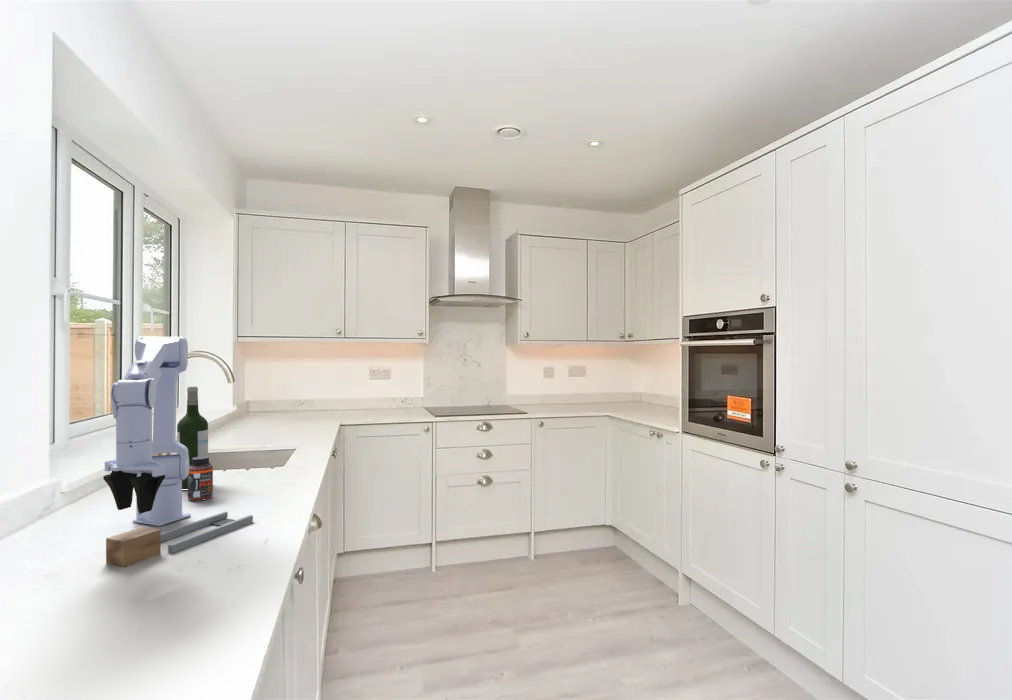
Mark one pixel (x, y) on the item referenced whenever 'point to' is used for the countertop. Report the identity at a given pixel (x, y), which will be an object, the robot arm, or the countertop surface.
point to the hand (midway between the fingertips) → (134, 510)
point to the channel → (212, 520)
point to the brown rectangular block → (132, 546)
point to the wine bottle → (193, 430)
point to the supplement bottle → (200, 479)
